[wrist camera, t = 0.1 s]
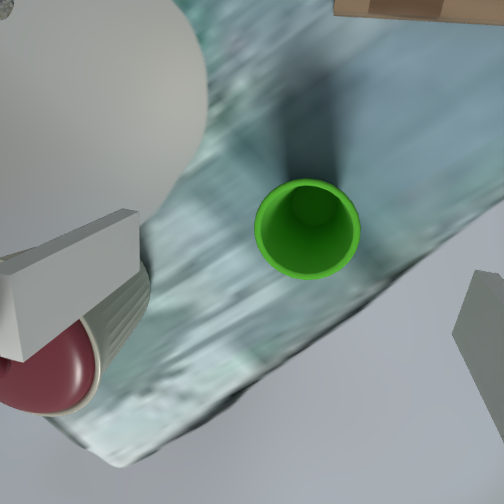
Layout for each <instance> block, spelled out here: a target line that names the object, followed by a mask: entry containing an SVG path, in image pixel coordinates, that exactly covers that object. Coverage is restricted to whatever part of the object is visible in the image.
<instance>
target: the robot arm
mask: <svg viewBox="0 0 504 504" xmlns="http://www.w3.org/2000/svg"><path fill="white" fill-rule="evenodd" d="M139 271H140V247H139V211H133V210H128V209H120V210H118V211H116V212H114V213H111V214H109V215H107V216H105V217H102V218H100V219H98V220H96V221H94V222H91V223H89V224H87V225H85V226H82V227H80V228H78V229H76V230H73V231H71V232H69V233H67V234H64V235H62V236H60V237H57V238H55V239H53V240H51V241H49V242H46V243H44V244H42V245H40V246H38V247H35V248H33V249H31V250H28V251H26V252H24V253H22V254H19V255H17V256H15V257H13V258H10V259H8V260H6V261H4V262H1V263H0V357H4V358H8V359H11V360H15V361H19V362H23V363H24V362H25V361H26V360H27V359H29V358H30V357H31V356H32V355H34V354H35V353H36V352H38V351H39V350H40V349H41V348H43V347H44V346H45V345H46V344H48V343H49V342H50V341H51V340H53V339H54V338H55V337H57V336H58V335H59V334H60V333H62V332H63V331H64V330H65V329H67V328H68V327H69V326H71V325H72V324H73V323H74V322H76V321H77V320H78V319H79V318H81V317H82V316H83V315H84V314H86V313H87V312H88V311H90V310H91V309H92V308H93V307H95V306H96V305H97V304H98V303H100V302H101V301H102V300H103V299H105V298H106V297H107V296H109V295H110V294H111V293H112V292H114V291H115V290H116V289H117V288H119V287H120V286H121V285H123V284H124V283H125V282H126V281H128V280H129V279H130V278H131V277H133V276H134V275H135V274H136V273H138V272H139ZM452 336H453V338H454V340H455V342H456V344H457V346H458V348H459V350H460V352H461V354H462V357H463V358H464V361H465V363H466V365H467V367H468V369H469V371H470V373H471V375H472V377H473V379H474V382H475V383H476V386H477V388H478V390H479V392H480V394H481V396H482V398H483V400H484V402H485V404H486V406H487V409H488V411H489V413H490V415H491V417H492V419H493V421H494V423H495V425H496V427H497V429H498V431H499V433H500V436H501V438H502V440H503V442H504V279H503V278H502V277H501V276H500V275H499V274H497V273H491V272H485V271H479V270H475V271H474V274H473V277H472V280H471V282H470V285H469V289H468V291H467V293H466V296H465V299H464V302H463V305H462V307H461V310H460V313H459V316H458V319H457V321H456V324H455V327H454V329H453V332H452Z"/></svg>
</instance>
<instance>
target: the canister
mask: <svg viewBox="0 0 504 504" xmlns="http://www.w3.org/2000/svg"><path fill="white" fill-rule="evenodd" d="M34 248H35V247H34ZM31 249H33V248H30V249H28V250H31ZM28 250H24V251H20V252H17V253H13V254H10V255H6V256H4V257H0V263H1V262H4V261H6V260H8V259H10V258H13V257H15V256H17V255H19V254H22V253H24V252H26V251H28ZM150 292H151V289H150V281H149V275H148V274H147V271H146V268H145V267H144V265H143V262H142V261H141V260H140V271H139V272H138V273H136V274H135V275H134V276H133V277H131V278H130V279H129V280H128V281H126V282H125V283H124V284H123V285H121V286H120V287H119V288H117V289H116V290H115V291H114V292H112V293H111V294H110V295H109V296H107V297H106V298H105V299H103V300H102V301H101V302H100V303H98V304H97V305H96V306H95V307H93V308H92V309H91V310H90V311H88V312H87V313H86V314H84V315H83V316H82V317H81V318H79V319H78V320H77V321H76V322H74V323H73V324H72V325H71V326H69V327H68V328H67V329H65V330H64V331H63V332H62V333H60V334H59V335H58V336H57V337H55V338H54V339H53V340H51V341H50V342H49V343H48V344H46V345H45V346H44V347H43V348H41V349H40V350H39V351H38V352H36V353H35V354H34V355H32V356H31V357H30V358H29V359H27V360H26V361H25V362H24V363H23V362H19V361H15V360H11V359H8V358H4V357H0V402H2V403H4V404H6V405H8V406H10V407H13V408H16V409H18V410H21V411H24V412H27V413H30V414H34V415H39V416H49V417H55V416H63V415H68V414H71V413H74V412H76V411H78V410H80V409H81V408H83V407H84V406H85V405H87V404H88V403H89V402H90V400H91V399H92V398H93V397H94V395H95V394H96V392H97V390H98V387H99V384H100V381H101V376H102V374H103V373H104V372H105V370H106V369H107V367H108V366H109V365H110V363H111V362H112V360H113V359H114V357H115V356H116V355H117V353H118V352H119V350H120V349H121V348H122V346H123V345H124V343H125V342H126V341H127V339H128V338H129V336H130V335H131V333H132V332H133V330H134V329H135V327H136V326H137V324H138V323H139V321H140V320H141V318H142V316H143V314H144V312H145V311H146V309H147V306H148V302H149V300H150Z"/></svg>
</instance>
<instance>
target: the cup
mask: <svg viewBox="0 0 504 504" xmlns="http://www.w3.org/2000/svg"><path fill="white" fill-rule="evenodd" d="M360 231H361V225H360V220H359V215H358V213H357V211H356V209H355V207H354V205H353V203H352V201H351V200H350V199H349V198H348V197H347V196H346V194H345V193H344V192H342V191H341V190H340V189H338V188H337V187H335V186H334V185H332V184H330V183H327V182H324V181H322V180H317V179H308V178H304V179H296V180H291V181H289V182H286V183H284V184H281V185H279V186H278V187H277V188H275V189H274V190H272V191H271V192H270V193H269V194H268V195H267V196H266V197H265V199H264V200H263V201H262V203H261V205H260V207H259V209H258V211H257V213H256V218H255V223H254V232H255V239H256V242H257V246H258V248H259V250H260V252H261V254H262V255H263V257H264V258H265V259H266V261H267V262H268V263H269V264H270V265H271V266H272V267H274V268H275V269H276V270H278V271H279V272H281V273H283V274H285V275H287V276H290V277H292V278H297V279H303V280H311V279H320V278H323V277H327V276H330V275H332V274H334V273H335V272H337V271H339V270H341V269H342V268H343V267H344V266H345V265H346V264H347V263H348V262H349V261H350V260H351V258H352V257H353V255H354V253H355V252H356V250H357V247H358V244H359V241H360Z"/></svg>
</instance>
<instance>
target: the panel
mask: <svg viewBox="0 0 504 504" xmlns="http://www.w3.org/2000/svg"><path fill="white" fill-rule="evenodd" d="M333 12H334V16H347V17H364V18H381V19H399V20H416V21H433V22H450V23H467V24H484V25H501V26H504V0H335V3H334V10H333Z"/></svg>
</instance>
